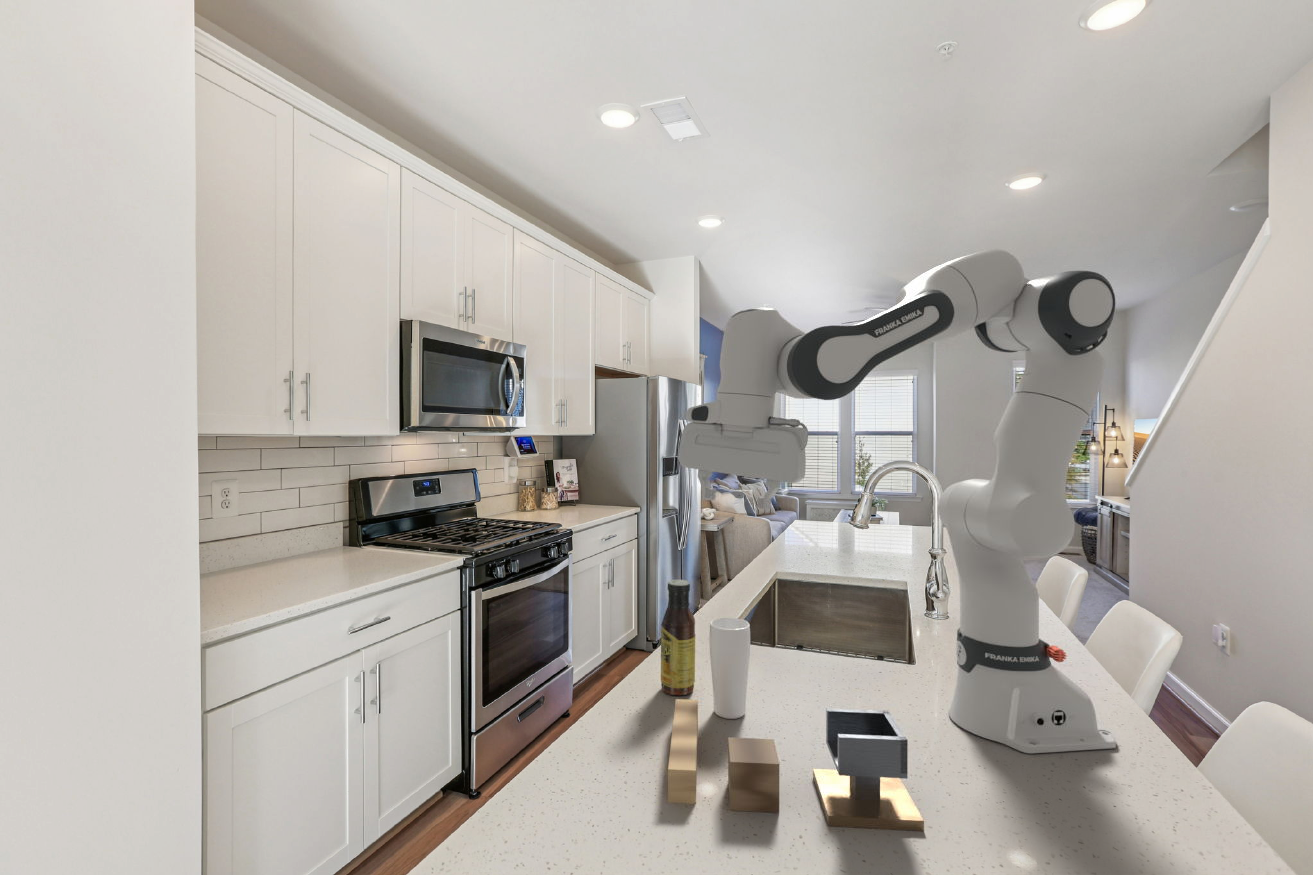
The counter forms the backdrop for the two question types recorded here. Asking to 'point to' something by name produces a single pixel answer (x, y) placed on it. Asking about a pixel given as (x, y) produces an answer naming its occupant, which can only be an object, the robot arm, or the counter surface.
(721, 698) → the drinking glass
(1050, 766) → the counter surface
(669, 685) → the sauce bottle
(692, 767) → the oak rail
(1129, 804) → the counter surface
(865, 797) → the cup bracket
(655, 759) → the counter surface
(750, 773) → the walnut block
